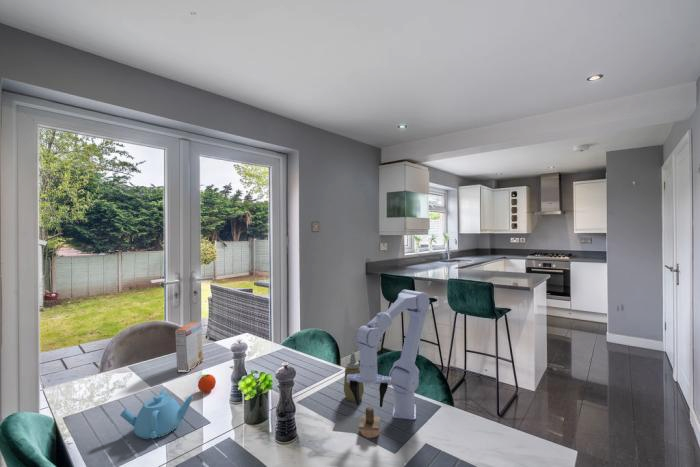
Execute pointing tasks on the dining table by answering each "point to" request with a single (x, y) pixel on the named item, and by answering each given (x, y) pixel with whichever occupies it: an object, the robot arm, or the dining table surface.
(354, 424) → the coaster
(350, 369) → the squeeze bottle
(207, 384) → the clementine
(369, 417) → the lid
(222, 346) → the dining table surface
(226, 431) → the dining table surface
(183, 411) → the teapot
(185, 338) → the cracker box
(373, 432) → the bowl
